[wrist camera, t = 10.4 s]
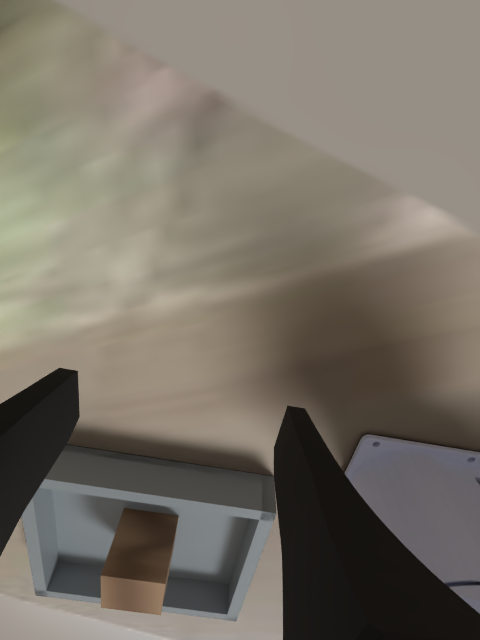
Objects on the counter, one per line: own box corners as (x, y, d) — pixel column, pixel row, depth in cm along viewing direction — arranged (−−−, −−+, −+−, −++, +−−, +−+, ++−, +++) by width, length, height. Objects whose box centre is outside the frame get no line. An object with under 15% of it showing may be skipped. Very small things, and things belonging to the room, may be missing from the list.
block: (178, 515, 29) (165, 584, 25) (173, 546, 31) (160, 615, 27) (124, 507, 29) (100, 575, 24) (122, 539, 31) (101, 607, 26)
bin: (274, 476, 27) (276, 513, 25) (237, 584, 35) (236, 621, 32) (38, 440, 26) (14, 474, 24) (52, 559, 34) (35, 595, 31)
